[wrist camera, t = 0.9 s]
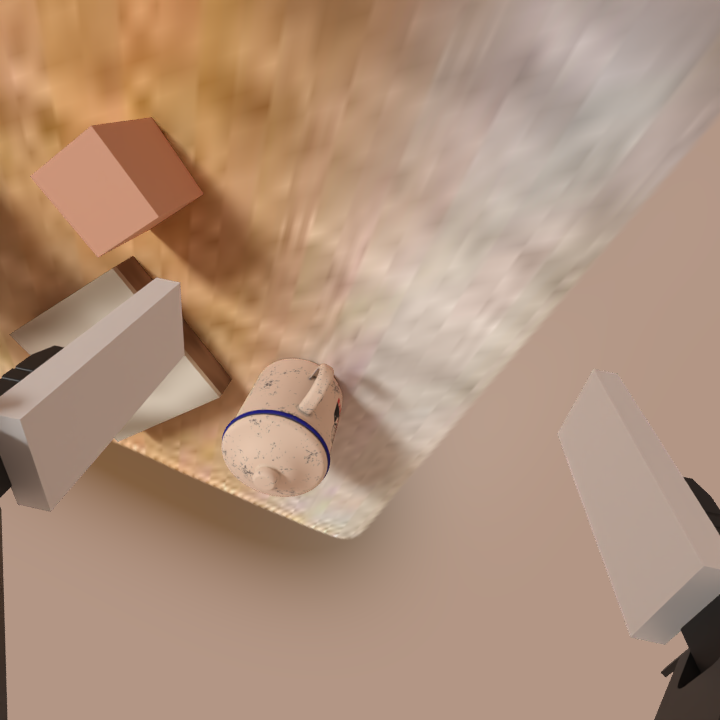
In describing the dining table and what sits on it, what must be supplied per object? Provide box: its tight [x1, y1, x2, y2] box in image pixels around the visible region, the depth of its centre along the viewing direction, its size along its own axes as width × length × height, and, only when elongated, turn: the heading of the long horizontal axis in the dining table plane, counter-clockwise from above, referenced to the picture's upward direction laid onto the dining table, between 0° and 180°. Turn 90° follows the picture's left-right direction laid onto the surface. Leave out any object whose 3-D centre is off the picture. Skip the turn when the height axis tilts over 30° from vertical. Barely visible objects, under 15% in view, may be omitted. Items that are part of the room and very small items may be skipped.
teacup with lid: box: [222, 358, 343, 497], centre depth 39 cm, size 12×9×12 cm
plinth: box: [9, 256, 231, 442], centre depth 43 cm, size 14×14×3 cm
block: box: [30, 117, 203, 257], centre depth 32 cm, size 6×6×7 cm
